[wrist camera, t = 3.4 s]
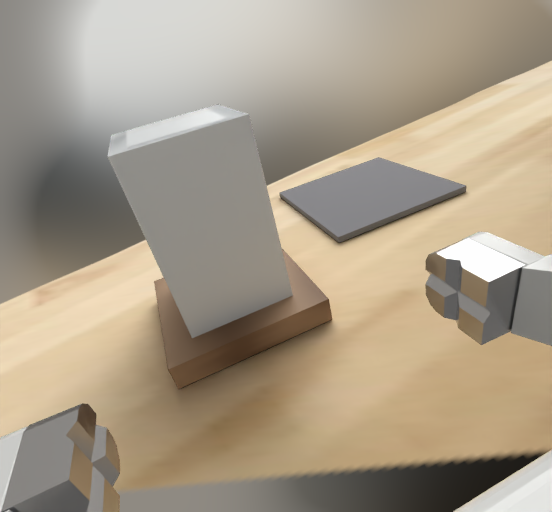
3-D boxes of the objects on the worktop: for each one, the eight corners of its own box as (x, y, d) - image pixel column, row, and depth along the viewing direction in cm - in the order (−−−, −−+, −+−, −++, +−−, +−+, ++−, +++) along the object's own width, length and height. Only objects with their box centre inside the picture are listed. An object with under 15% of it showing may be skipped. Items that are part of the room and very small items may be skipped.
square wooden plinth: (275, 253, 28) (258, 187, 25) (332, 319, 20) (317, 235, 17) (162, 297, 26) (130, 232, 23) (178, 389, 18) (134, 308, 16)
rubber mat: (378, 161, 40) (378, 157, 39) (466, 191, 30) (466, 185, 29) (280, 197, 37) (279, 192, 37) (339, 242, 27) (338, 237, 27)
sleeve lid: (259, 251, 25) (217, 104, 20) (292, 295, 20) (248, 114, 15) (177, 283, 24) (111, 135, 19) (192, 338, 19) (107, 156, 14)
